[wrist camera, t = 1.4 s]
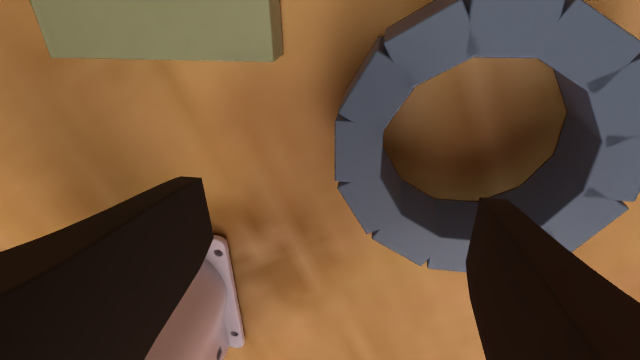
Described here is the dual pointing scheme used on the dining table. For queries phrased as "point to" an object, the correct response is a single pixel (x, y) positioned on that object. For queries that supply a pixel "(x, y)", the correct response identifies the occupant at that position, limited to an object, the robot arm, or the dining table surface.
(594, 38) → the ring
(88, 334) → the robot arm
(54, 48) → the post
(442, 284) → the dining table surface
